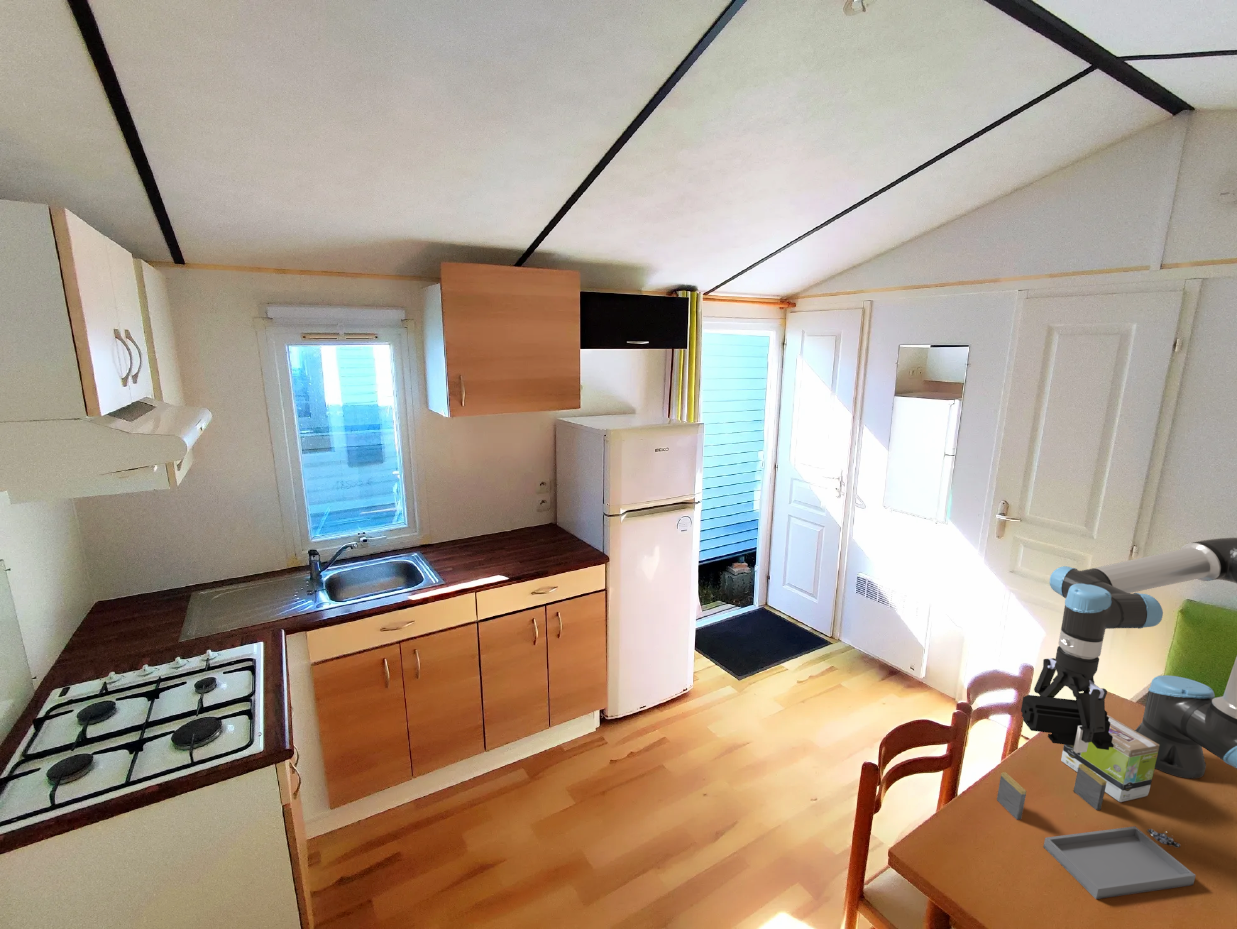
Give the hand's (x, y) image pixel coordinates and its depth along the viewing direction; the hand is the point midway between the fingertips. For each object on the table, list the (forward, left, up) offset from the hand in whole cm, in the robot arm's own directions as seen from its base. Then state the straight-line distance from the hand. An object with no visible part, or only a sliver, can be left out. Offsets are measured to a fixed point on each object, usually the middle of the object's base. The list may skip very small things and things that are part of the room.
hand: (1061, 737), depth 133 cm
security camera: (-1, 0, -1) cm, 1 cm away
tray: (0, +16, -19) cm, 25 cm away
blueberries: (-18, +12, -19) cm, 29 cm away
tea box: (-22, -6, -19) cm, 29 cm away
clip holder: (0, 0, -19) cm, 19 cm away
